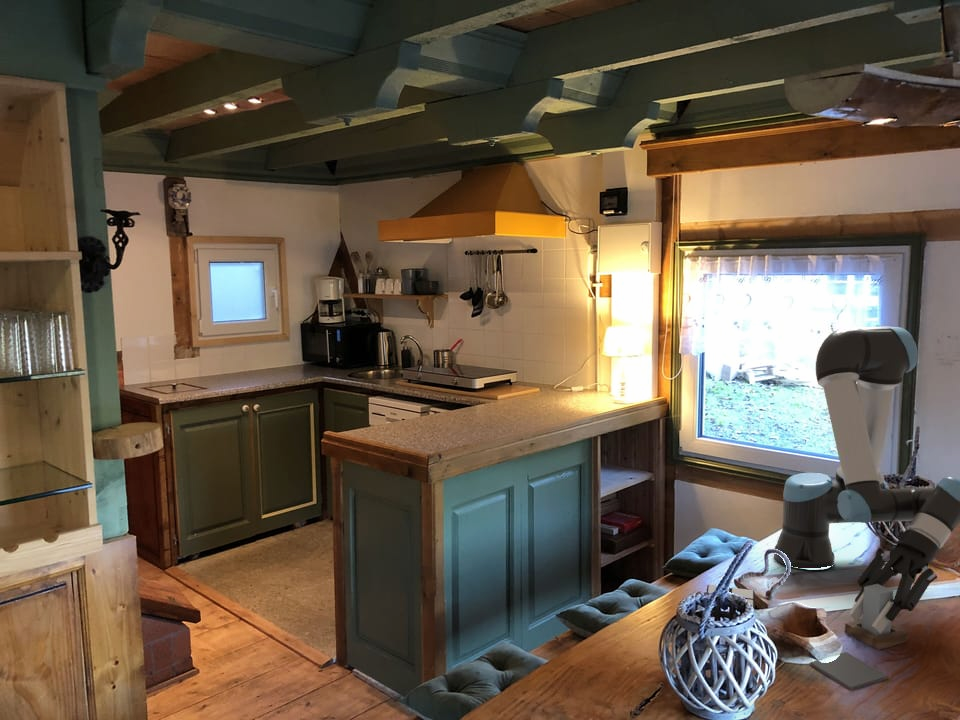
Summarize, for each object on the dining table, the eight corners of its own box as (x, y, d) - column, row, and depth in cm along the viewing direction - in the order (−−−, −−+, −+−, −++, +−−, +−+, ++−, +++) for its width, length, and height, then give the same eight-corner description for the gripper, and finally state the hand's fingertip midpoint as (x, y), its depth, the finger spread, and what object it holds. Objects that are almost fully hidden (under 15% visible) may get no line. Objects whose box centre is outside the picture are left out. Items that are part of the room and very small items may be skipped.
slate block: (861, 634, 171) (864, 586, 169) (874, 630, 172) (877, 583, 171) (876, 642, 167) (879, 594, 165) (890, 639, 169) (893, 590, 167)
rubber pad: (810, 664, 158) (810, 662, 158) (846, 654, 162) (846, 651, 162) (850, 690, 149) (850, 687, 149) (887, 678, 153) (888, 675, 153)
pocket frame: (844, 631, 172) (845, 623, 172) (872, 624, 175) (873, 615, 175) (878, 649, 164) (878, 640, 164) (907, 641, 167) (907, 632, 167)
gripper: (970, 563, 165) (910, 652, 161) (894, 535, 181) (838, 614, 177) (955, 543, 162) (893, 633, 158) (879, 516, 179) (821, 596, 175)
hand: (864, 623), depth 168 cm, fingers open, 5 cm apart
